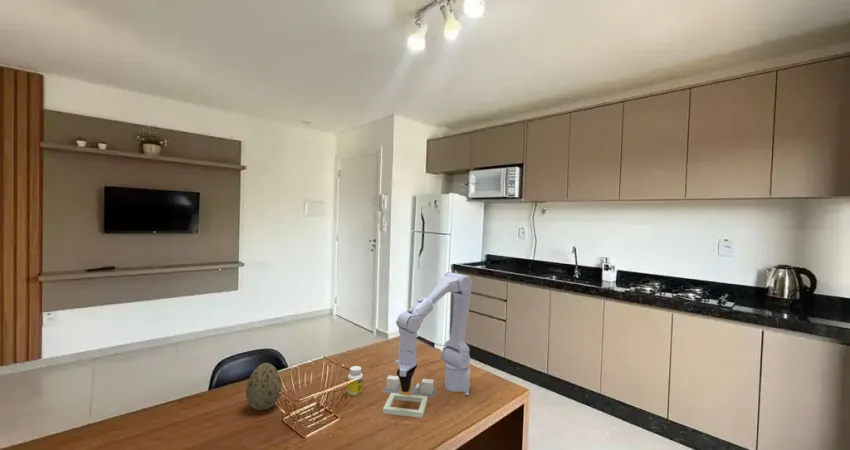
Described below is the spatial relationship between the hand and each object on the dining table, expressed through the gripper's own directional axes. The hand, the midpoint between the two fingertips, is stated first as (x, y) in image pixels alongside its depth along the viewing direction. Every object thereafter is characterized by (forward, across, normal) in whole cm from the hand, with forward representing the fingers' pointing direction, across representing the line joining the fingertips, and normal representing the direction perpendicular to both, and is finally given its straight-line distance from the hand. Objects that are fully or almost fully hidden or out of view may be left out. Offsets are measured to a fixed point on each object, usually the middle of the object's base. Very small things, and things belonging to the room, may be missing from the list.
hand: (406, 388), depth 124 cm
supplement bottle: (+7, -6, -20) cm, 22 cm away
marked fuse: (+1, 0, 0) cm, 1 cm away
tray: (+7, 0, 0) cm, 7 cm away
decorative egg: (+7, +9, -46) cm, 47 cm away
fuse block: (+7, -12, -1) cm, 14 cm away
